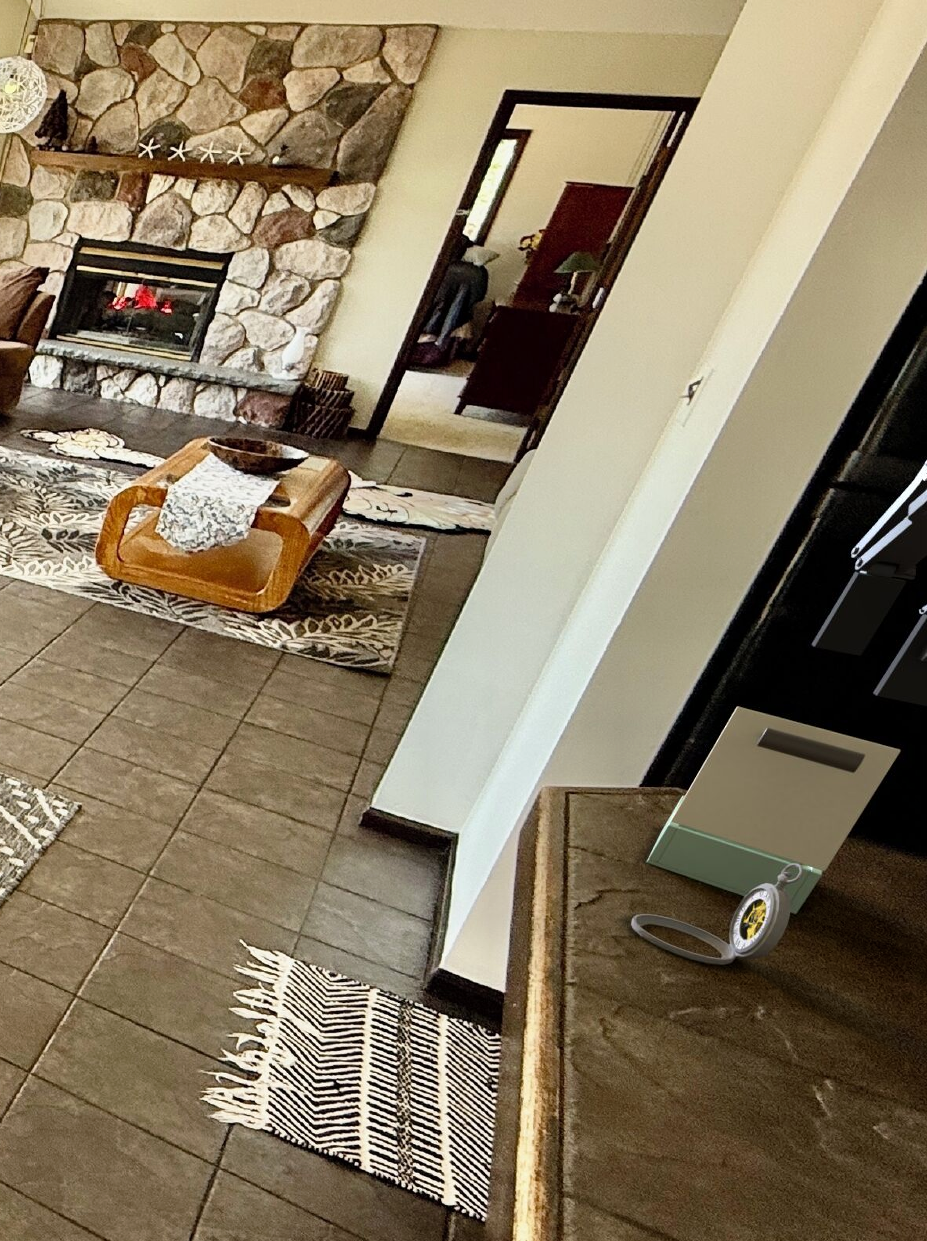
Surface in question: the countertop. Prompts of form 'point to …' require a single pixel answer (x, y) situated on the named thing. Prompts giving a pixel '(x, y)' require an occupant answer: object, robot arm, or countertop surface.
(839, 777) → the cream coin bank
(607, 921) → the countertop surface
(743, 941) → the pocket watch
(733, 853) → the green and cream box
